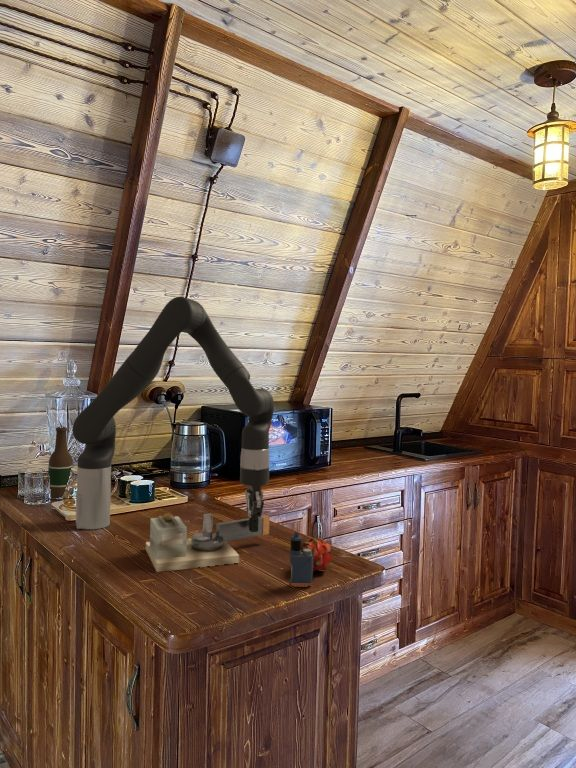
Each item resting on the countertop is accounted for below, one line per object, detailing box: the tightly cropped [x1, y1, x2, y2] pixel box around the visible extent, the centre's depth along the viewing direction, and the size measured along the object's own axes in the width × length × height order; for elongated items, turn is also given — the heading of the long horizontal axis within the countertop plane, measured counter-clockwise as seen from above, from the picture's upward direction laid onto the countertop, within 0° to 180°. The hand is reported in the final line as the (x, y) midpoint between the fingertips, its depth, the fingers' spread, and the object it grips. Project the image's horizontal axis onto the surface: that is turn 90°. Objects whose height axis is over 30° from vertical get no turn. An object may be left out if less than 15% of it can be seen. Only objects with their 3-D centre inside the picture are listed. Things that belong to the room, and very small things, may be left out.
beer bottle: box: [47, 426, 74, 498], centre depth 199 cm, size 8×8×24 cm
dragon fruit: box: [301, 537, 333, 571], centre depth 142 cm, size 8×8×12 cm
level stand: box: [145, 512, 240, 573], centre depth 148 cm, size 20×16×11 cm
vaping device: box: [289, 531, 314, 584], centre depth 132 cm, size 3×5×12 cm, turn 95°
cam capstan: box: [190, 513, 271, 551], centre depth 154 cm, size 22×8×8 cm, turn 127°
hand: (253, 531), depth 154 cm, fingers closed
